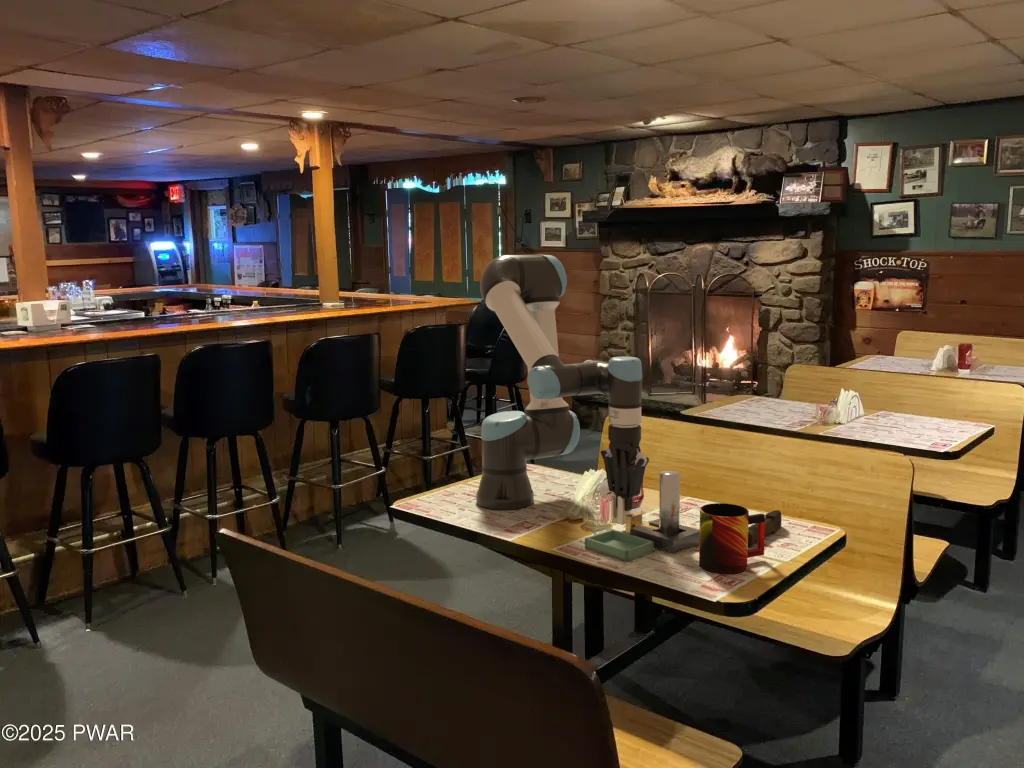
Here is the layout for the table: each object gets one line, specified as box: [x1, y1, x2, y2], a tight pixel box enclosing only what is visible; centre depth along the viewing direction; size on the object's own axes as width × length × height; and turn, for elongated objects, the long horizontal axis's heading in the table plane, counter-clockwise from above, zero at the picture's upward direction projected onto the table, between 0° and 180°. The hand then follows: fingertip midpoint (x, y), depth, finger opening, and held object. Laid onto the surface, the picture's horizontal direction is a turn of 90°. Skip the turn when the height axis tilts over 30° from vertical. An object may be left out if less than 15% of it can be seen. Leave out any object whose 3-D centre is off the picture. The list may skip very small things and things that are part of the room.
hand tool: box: [748, 509, 782, 549], centre depth 189 cm, size 19×4×5 cm, turn 135°
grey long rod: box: [658, 470, 681, 536], centre depth 185 cm, size 4×4×16 cm
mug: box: [698, 502, 766, 576], centre depth 172 cm, size 10×14×12 cm
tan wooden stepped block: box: [625, 511, 659, 534], centre depth 191 cm, size 8×4×4 cm, turn 41°
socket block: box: [629, 518, 700, 555], centre depth 186 cm, size 12×10×3 cm
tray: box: [584, 528, 655, 563], centre depth 182 cm, size 12×9×2 cm
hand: (623, 522), depth 196 cm, fingers closed
